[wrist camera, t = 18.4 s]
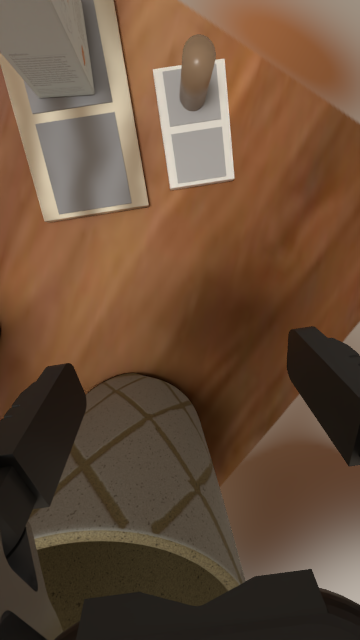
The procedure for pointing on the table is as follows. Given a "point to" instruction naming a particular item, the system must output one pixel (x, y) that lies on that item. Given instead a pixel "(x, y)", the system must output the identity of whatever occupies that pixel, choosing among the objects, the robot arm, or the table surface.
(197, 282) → the table surface
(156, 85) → the plate
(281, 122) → the table surface
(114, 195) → the board
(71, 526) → the planter
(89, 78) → the small box
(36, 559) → the robot arm
